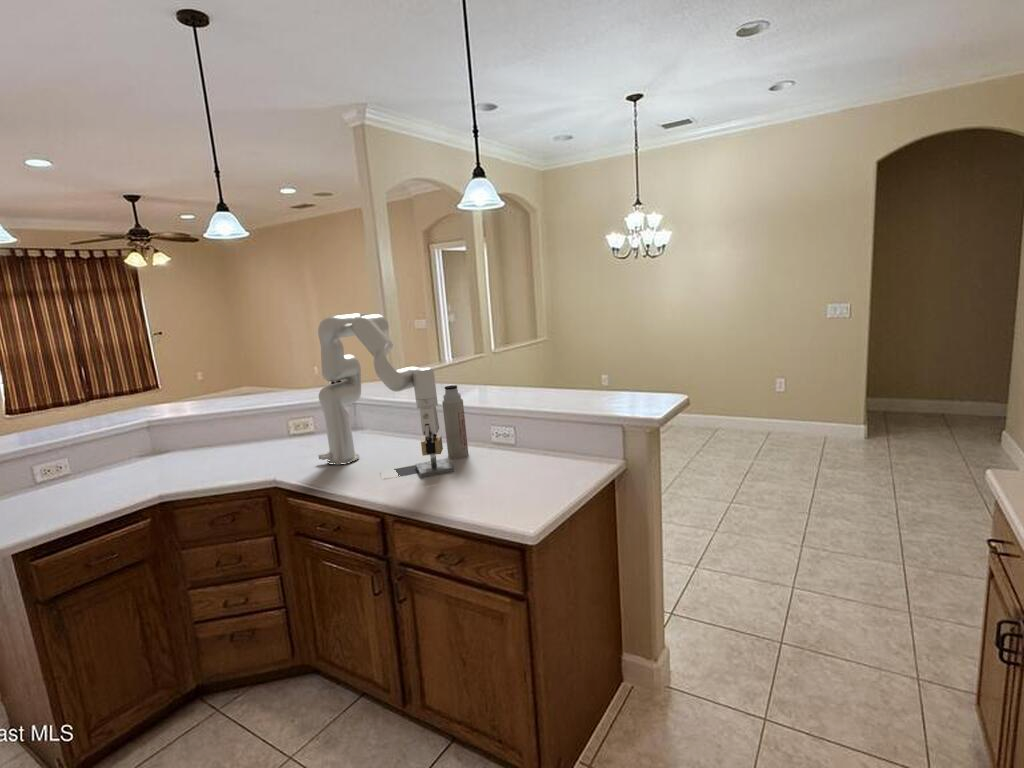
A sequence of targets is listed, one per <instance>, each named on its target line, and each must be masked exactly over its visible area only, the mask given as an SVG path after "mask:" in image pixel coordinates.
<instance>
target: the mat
mask: <svg viewBox="0 0 1024 768" xmlns="http://www.w3.org/2000/svg"><path fill="white" fill-rule="evenodd" d="M393 469H394V470H396V472H397V473H398V476H399V475H400V476H401V477H405V476H406V477H407V476H411V475H416V474H419V473H418V472H417V470H416V466H415V464H414V465H409V466H404V467H398V468H393ZM400 476H399V477H398V478H400Z"/></svg>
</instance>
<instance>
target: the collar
mask: <svg viewBox="0 0 1024 768" xmlns="http://www.w3.org/2000/svg"><path fill="white" fill-rule="evenodd" d="M442 439H443V437H442V435H437V436H433V441H434V442H435V451H436V453H435V454H436V455H441V454H442V452H443V449H444V448H443V447H444V446H443V440H442ZM420 441H421V442H420V446H421V454H422V456H430V455H435V454H427V453H426V445H425V436H423V437H422V440H420Z"/></svg>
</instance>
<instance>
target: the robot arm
mask: <svg viewBox="0 0 1024 768" xmlns="http://www.w3.org/2000/svg"><path fill="white" fill-rule="evenodd" d="M388 331H389V322H388V320H387V318H385V317H384V316H383V315H382V314H378V313H350V314H337V315H331V316H328V317H325V318H323V319H322V320H321V322H320V323H319V325H318V329H317V333H318V335H317V336H318V339H319V345H320V362H321V376H322V378H323V380H325V381H327V382H331V383H332V382H335V383H332V384H328V385H325V386H323V387H322V388H321V389H320V390H319V392H318V401H319V404H320V407H321V409H322V414H323V418H324V423H325V424H324V425H325V429H326V435H327V442H328V449H329V450H328V452H326V453H322V454H318V455H317V456H318V460H322V461H324V460H326V462H329V463H333V464H334V463H335V464H341V463H348V462H352V461H355V460H357V459H358V460H359V459H360V454H359V453H356V451H355V443H354V438H353V437H354V436H353V431H352V429H353V428H352V424H351V416H350V414H349V412H348V411H347V409H346V408H345V406H348V405H351V404H353V403H356V402H357V401H359V400H360V398H361V395H362V369H361V367H362V366H361V364H360V361H359V360H358V358H357V357H356V356H354V355H353V354H345V346H344V345H343V341H342V340H341V339H340V338H348V337H354V336H355V337H356V338H357V339H358V340H359V342H360V343H361V344H362V345H363V346H364V347H365V349H366V350H367V351H368V352H369V353H370V354H371V355H372V357H373V366H374V370H375V373H376V376H377V377H378V379H380V381H381V382H382V383H383V384H384V386H386V388H388V389H389V390H390V391H392V392H401V391H406V390H408V389H412V388H414V397H415V404H416V408H417V409H419V416H420V426H421V433H422V435H423V437H425V445H426V453H427V454H435V453H436V451H435V442H434V441H433V436H438V435H437V434H438V433H439V430H440V423H439V417H438V411H437V407H438V405H439V403H438V396H437V388H436V378H435V372H434V369H433V368H432V367H418V366H408V367H402V368H400V369H399V368H398V369H395V368H394V367H393V366H392V364H391V363H390V362H389V360H388V357H387V356H388V355H389V353H390V352H391V351H392V349H393V347H394V344H393V342H392V340H391V339H390V338H389V337H388V335H386V334H387V333H388ZM338 381H340V382H338ZM328 460H330V461H328ZM358 460H357V461H358ZM355 462H356V461H355ZM352 463H353V462H352Z"/></svg>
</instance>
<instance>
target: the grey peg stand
mask: <svg viewBox="0 0 1024 768" xmlns="http://www.w3.org/2000/svg"><path fill="white" fill-rule="evenodd" d="M429 457H430V461H423V462H419V463H414V465H415V466H416V470H417V472H418V473H417V474H418V475H419V477H420V478H421V479H425V478H429V477H436V476H440V475H444V474H445V475H446V474H451V473H455V466H454V465H453V464H452V463H451V462H450V460H449V459H448V457H447V458H446V457H445V458H440V459H437V454H435V455H429Z"/></svg>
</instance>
